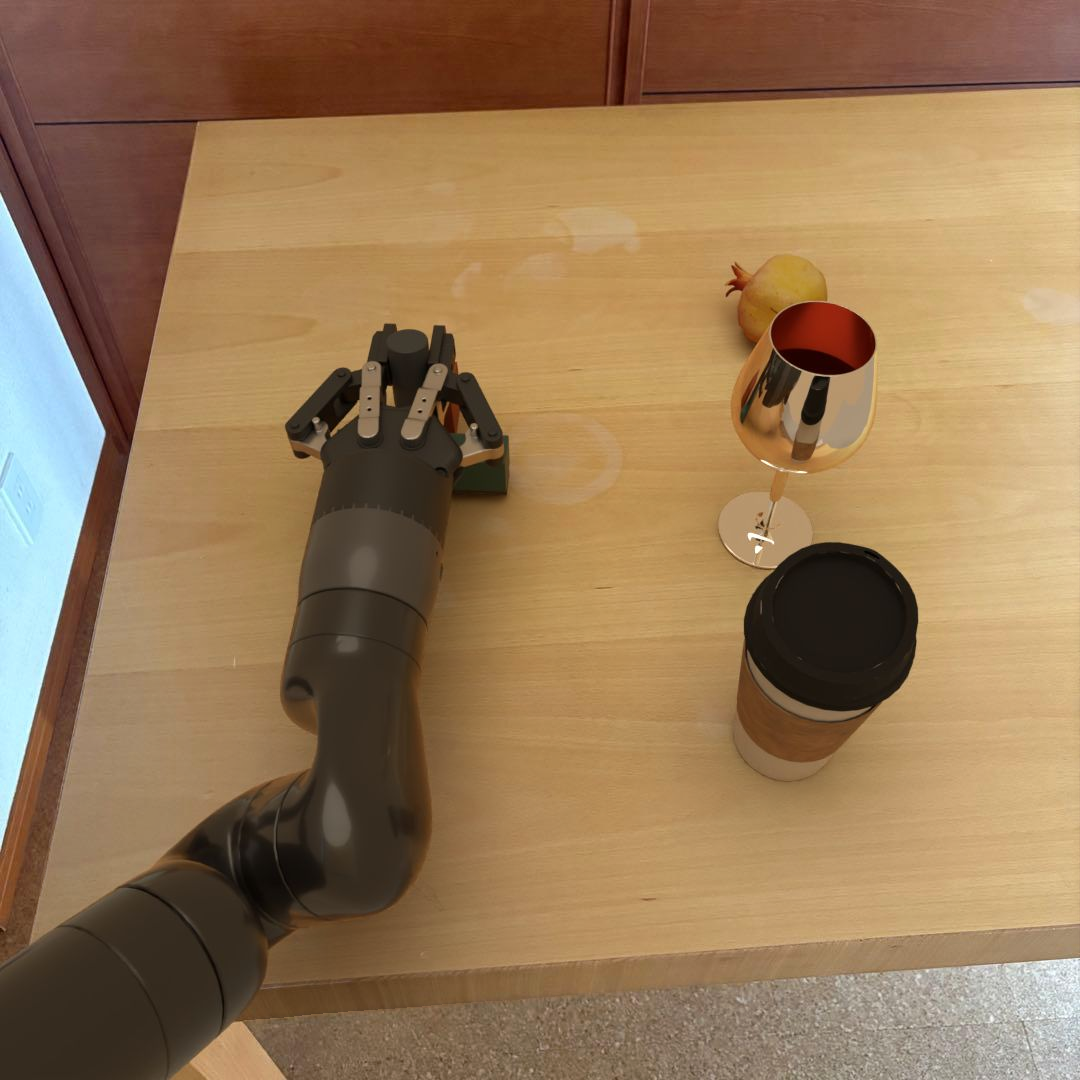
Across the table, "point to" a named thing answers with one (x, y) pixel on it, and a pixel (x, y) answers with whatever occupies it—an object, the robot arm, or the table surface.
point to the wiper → (407, 376)
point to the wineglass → (798, 419)
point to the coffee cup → (820, 655)
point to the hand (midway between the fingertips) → (416, 334)
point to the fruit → (774, 291)
